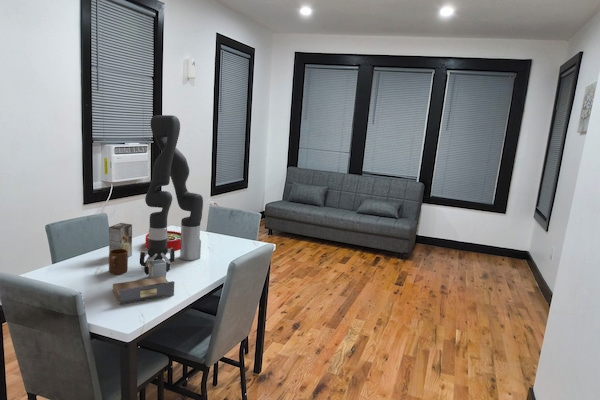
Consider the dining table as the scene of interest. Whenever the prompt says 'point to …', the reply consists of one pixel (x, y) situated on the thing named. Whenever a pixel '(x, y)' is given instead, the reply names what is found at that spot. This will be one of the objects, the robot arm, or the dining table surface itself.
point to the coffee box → (121, 237)
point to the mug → (118, 261)
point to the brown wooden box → (143, 290)
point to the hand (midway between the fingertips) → (157, 272)
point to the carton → (157, 269)
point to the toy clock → (169, 240)
